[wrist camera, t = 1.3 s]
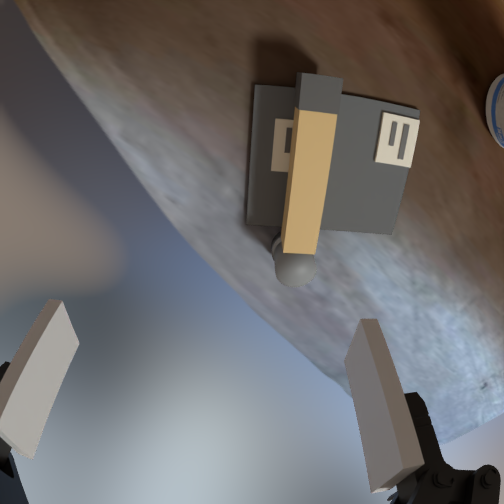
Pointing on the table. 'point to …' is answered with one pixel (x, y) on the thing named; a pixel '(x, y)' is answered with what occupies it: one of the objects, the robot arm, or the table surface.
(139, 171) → the table surface
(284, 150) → the label
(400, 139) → the label
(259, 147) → the mat
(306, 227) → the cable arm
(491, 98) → the supplement tub
